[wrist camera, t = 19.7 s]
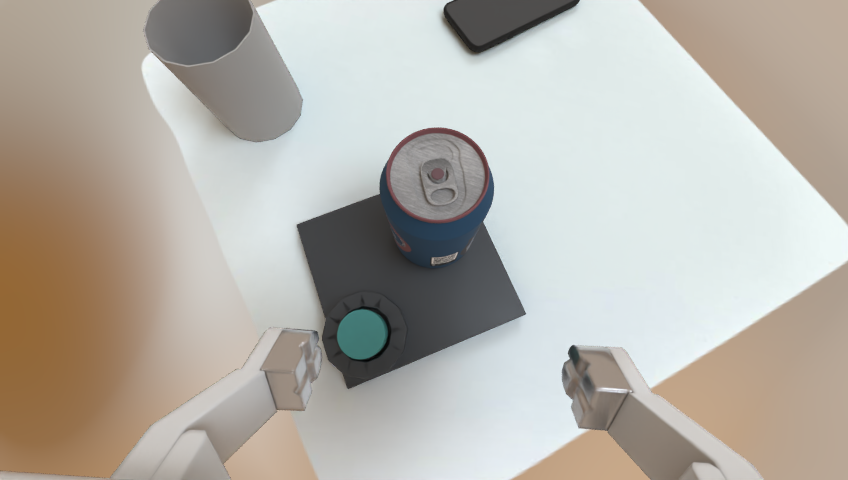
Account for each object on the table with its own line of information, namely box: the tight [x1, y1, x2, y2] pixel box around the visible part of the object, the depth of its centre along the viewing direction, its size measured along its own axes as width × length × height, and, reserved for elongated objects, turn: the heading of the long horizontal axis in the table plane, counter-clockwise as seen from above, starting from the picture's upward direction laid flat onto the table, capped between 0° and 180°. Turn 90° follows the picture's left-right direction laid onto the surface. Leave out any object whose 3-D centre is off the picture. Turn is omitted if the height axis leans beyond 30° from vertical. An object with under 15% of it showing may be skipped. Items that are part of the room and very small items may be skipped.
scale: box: [297, 194, 526, 389], centre depth 28 cm, size 15×16×3 cm
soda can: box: [380, 128, 494, 268], centre depth 24 cm, size 7×7×12 cm
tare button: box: [337, 309, 388, 360], centre depth 25 cm, size 4×4×2 cm
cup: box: [143, 0, 303, 142], centre depth 30 cm, size 8×8×10 cm
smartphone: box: [444, 0, 580, 52], centre depth 37 cm, size 7×1×15 cm
